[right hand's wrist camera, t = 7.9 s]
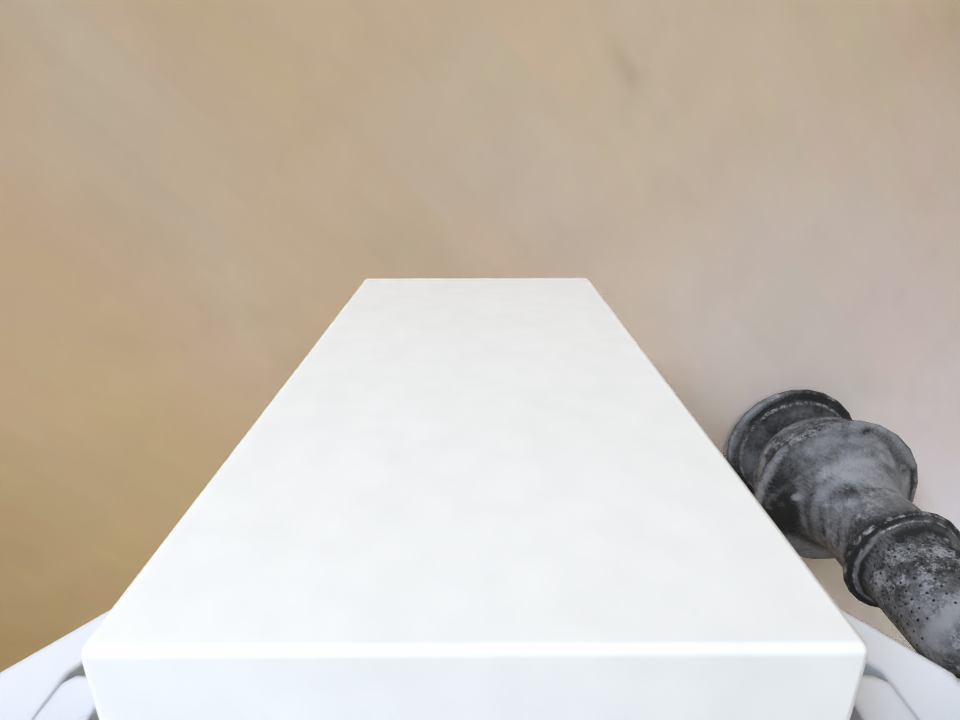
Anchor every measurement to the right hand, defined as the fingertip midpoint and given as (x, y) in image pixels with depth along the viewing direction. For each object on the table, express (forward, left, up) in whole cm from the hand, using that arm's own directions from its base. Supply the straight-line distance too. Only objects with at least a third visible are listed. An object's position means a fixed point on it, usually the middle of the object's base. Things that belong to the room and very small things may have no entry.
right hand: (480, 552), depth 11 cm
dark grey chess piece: (+6, +13, -14) cm, 20 cm away
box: (+9, 0, -7) cm, 12 cm away
